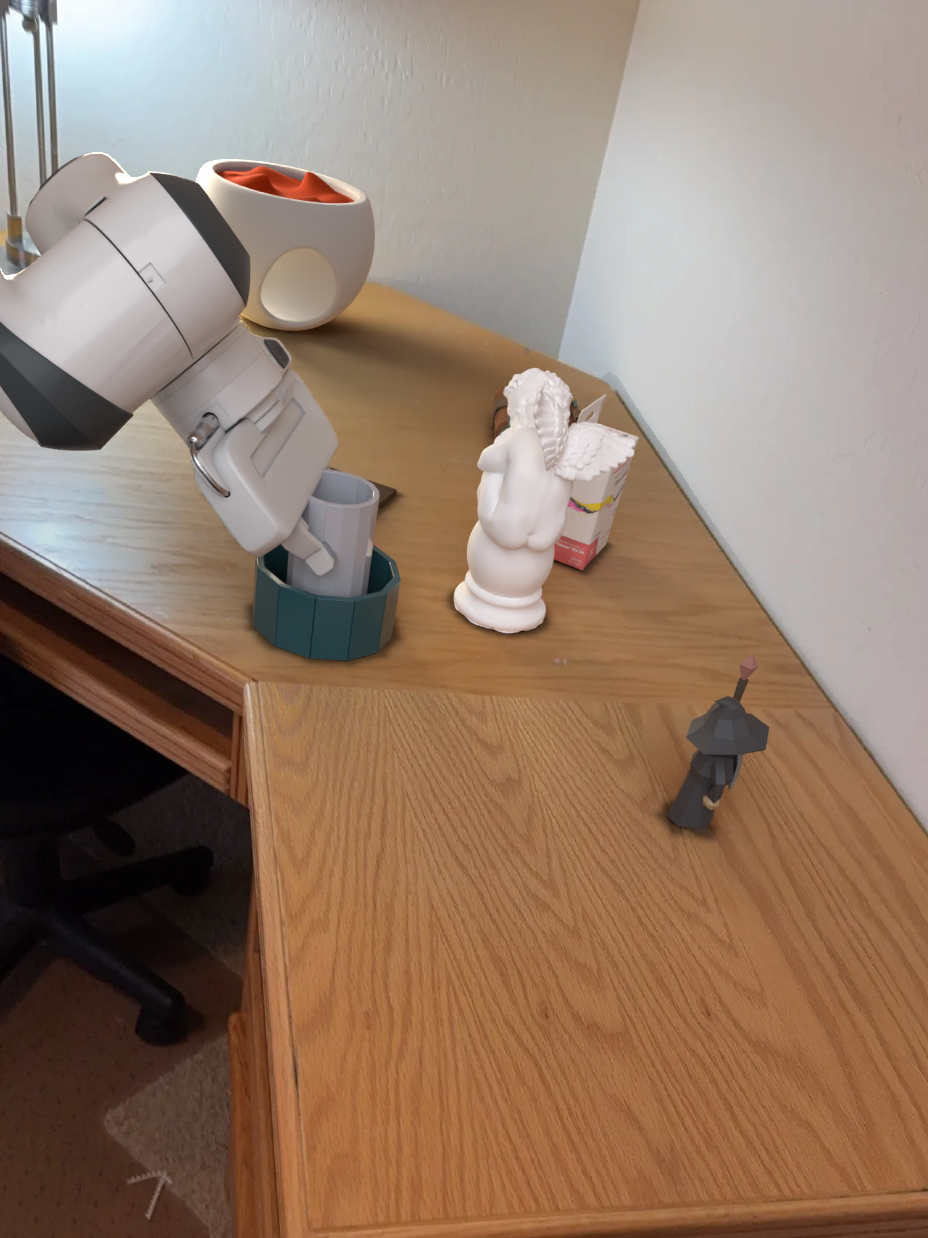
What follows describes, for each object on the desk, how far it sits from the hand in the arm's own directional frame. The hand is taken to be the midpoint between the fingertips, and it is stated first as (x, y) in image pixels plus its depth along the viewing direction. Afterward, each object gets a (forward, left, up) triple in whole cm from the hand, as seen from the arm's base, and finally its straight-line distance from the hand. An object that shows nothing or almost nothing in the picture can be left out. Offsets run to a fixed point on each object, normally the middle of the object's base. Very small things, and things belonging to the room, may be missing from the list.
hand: (339, 546), depth 85 cm
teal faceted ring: (-1, 0, -7) cm, 7 cm away
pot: (-41, +71, -7) cm, 82 cm away
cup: (-1, 0, -7) cm, 7 cm away
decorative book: (+3, +55, -7) cm, 55 cm away
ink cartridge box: (+14, +30, -7) cm, 34 cm away
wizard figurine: (+33, -8, -7) cm, 35 cm away
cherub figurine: (+13, +12, -7) cm, 19 cm away
